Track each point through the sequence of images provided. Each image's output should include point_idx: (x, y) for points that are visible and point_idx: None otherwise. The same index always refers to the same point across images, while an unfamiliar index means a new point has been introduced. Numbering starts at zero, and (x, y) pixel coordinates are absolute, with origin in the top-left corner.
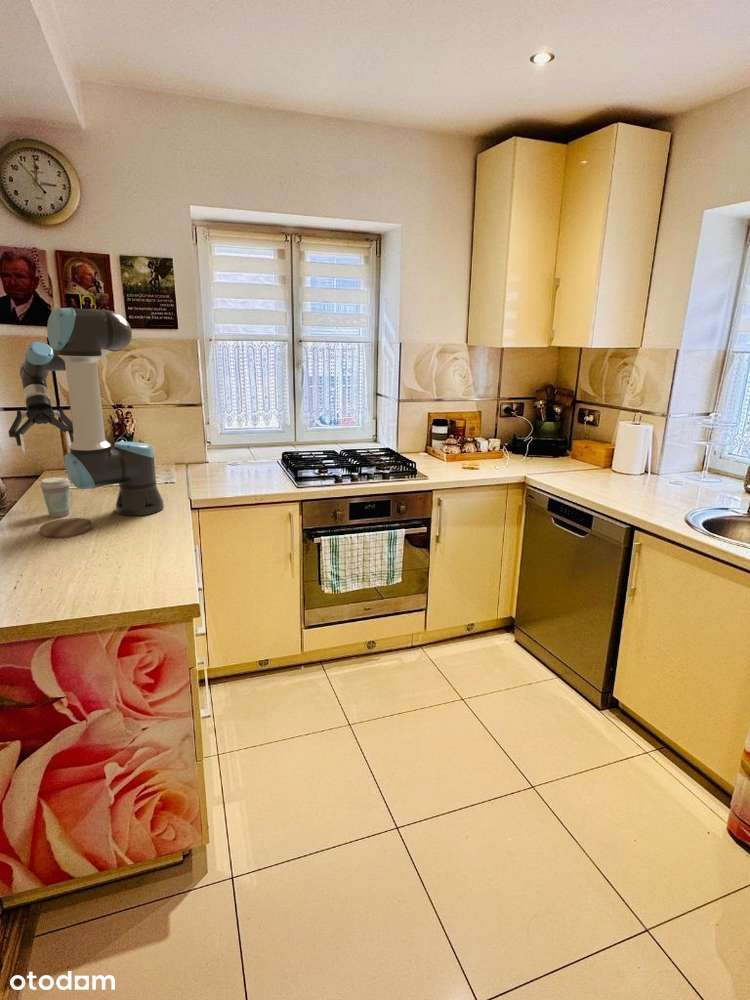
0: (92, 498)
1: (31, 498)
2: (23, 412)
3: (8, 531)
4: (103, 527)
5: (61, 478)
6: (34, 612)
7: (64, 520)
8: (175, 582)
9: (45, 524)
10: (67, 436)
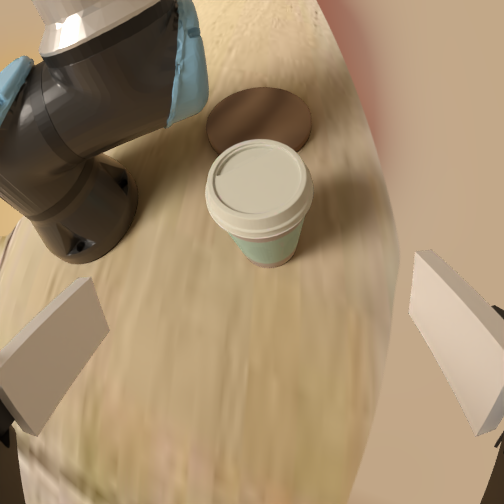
0: (158, 388)
1: (347, 480)
2: None
3: (378, 158)
4: (191, 122)
5: (228, 193)
6: None
7: None
8: None
9: (300, 134)
10: (28, 333)
